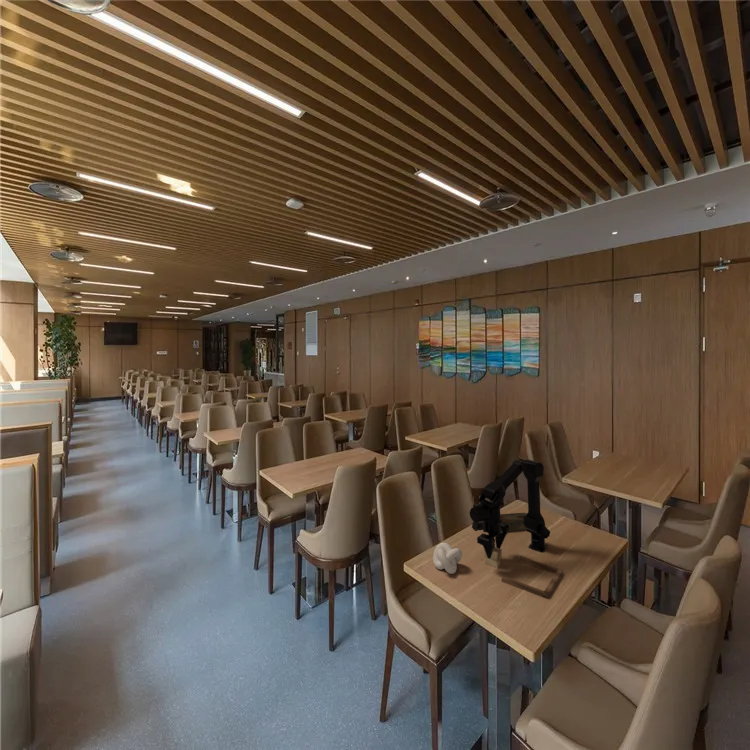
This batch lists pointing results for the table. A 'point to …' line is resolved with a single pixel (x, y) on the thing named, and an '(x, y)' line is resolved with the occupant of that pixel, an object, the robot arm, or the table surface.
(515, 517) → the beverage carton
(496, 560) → the oak block
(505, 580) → the bay
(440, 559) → the white decorative knot
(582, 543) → the table surface
